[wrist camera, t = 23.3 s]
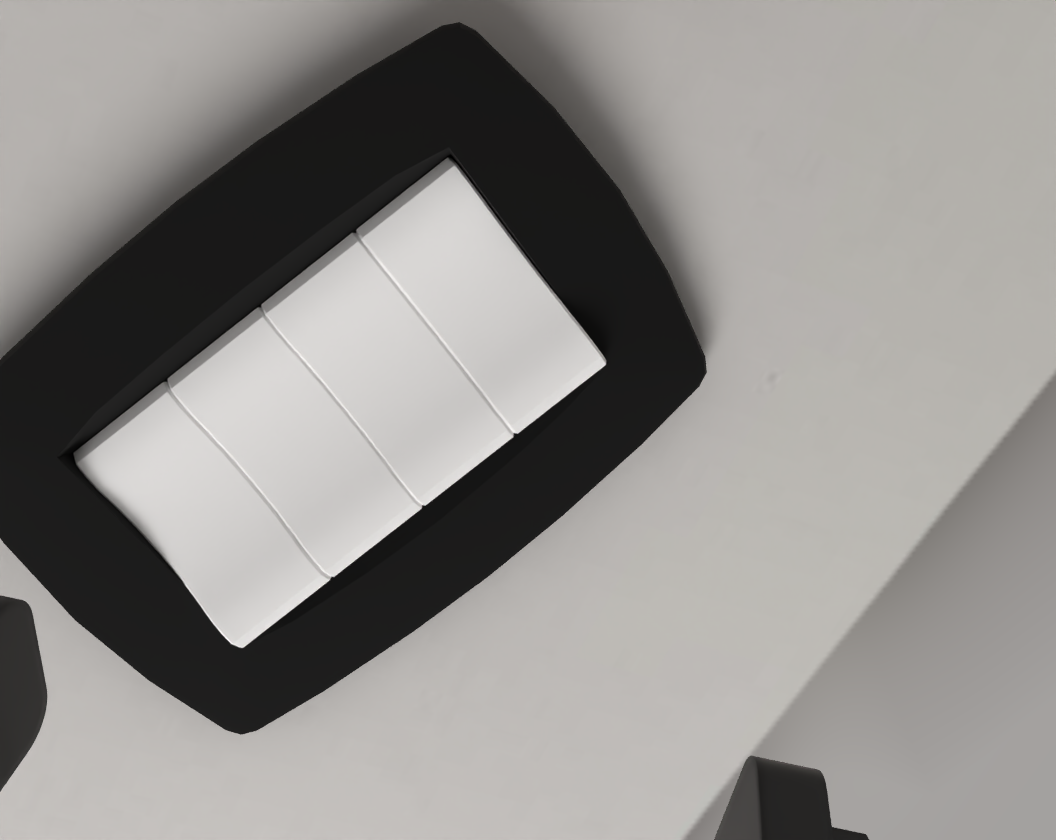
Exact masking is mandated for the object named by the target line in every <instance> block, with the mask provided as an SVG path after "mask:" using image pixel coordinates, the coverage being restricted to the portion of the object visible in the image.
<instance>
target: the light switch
mask: <svg viewBox="0 0 1056 840" xmlns="http://www.w3.org/2000/svg"><path fill="white" fill-rule="evenodd" d="M706 373H707V371H706V360H705V355H704V353H703V351H702V349H701V346H700V344H699V342H698V339H697V337H696V335H695V333H694V330H693V328H692V326H691V323H690V321H689V319H688V317H687V314H686V312H685V310H684V307H683V305H682V303H681V301H680V298H679V296H678V294H677V291H676V289H675V287H674V285H673V282H672V280H671V278H670V275H669V273H668V271H667V269H666V268H665V266H664V264H663V263H662V261H661V259H660V257H659V256H658V254H657V252H656V251H655V249H654V247H653V245H652V244H651V242H650V240H649V239H648V237H647V235H646V234H645V232H644V230H643V228H642V227H641V225H640V223H639V222H638V220H637V218H636V216H635V215H634V213H633V211H632V210H631V208H630V206H629V205H628V203H627V201H626V199H625V198H624V196H623V194H622V193H621V191H620V189H619V188H618V187H617V186H616V184H615V183H614V182H613V181H612V179H611V178H610V177H609V176H608V174H607V173H606V172H605V171H604V169H603V168H602V167H601V166H600V164H599V163H598V162H597V161H596V159H595V158H594V157H593V156H592V154H591V153H590V152H589V151H588V149H587V148H586V147H585V146H584V144H583V143H582V142H581V141H580V139H579V138H578V137H577V136H576V134H575V133H574V132H573V131H572V129H571V128H570V127H569V126H568V124H567V123H566V122H565V121H564V119H563V118H562V117H561V116H560V114H559V113H558V112H557V111H556V109H555V108H554V107H553V106H552V105H551V104H550V103H549V102H548V101H547V100H546V99H545V98H544V97H543V96H542V95H541V94H540V93H539V92H538V91H537V90H536V89H535V88H534V87H533V86H532V85H531V84H530V83H529V82H528V81H527V80H526V79H525V78H524V77H523V76H522V75H521V74H520V73H518V72H517V71H516V70H515V69H514V68H513V67H512V66H511V65H510V64H509V63H508V62H507V61H506V60H505V59H504V58H503V57H502V56H501V55H500V54H499V53H498V52H497V51H496V50H495V49H494V48H493V47H492V46H491V45H490V44H489V43H488V42H487V41H486V40H485V39H484V38H483V37H482V36H481V35H480V34H479V33H478V32H477V31H476V30H474V29H472V28H470V27H468V26H466V25H464V24H462V23H460V22H459V23H454V24H449V25H443V26H441V27H439V28H437V29H435V30H433V31H432V32H430V33H428V34H427V35H425V36H423V37H421V38H420V39H418V40H416V41H414V42H413V43H411V44H409V45H408V46H406V47H404V48H402V49H401V50H399V51H397V52H395V53H394V54H392V55H390V56H389V57H387V58H385V59H383V60H382V61H380V62H378V63H376V64H375V65H373V66H371V67H369V68H368V69H366V70H364V71H363V72H361V73H359V74H357V75H356V76H354V77H353V78H351V79H350V80H348V81H347V82H345V83H344V84H342V85H341V86H339V87H338V88H336V89H335V90H333V91H332V92H330V93H329V94H327V95H326V96H324V97H323V98H321V99H320V100H318V101H317V102H315V103H314V104H312V105H311V106H309V107H308V108H306V109H305V110H303V111H302V112H300V113H299V114H297V115H296V116H294V117H293V118H291V119H290V120H288V121H287V122H285V123H284V124H282V125H281V126H279V127H278V128H276V129H275V130H273V131H272V132H270V133H269V134H267V135H266V136H264V137H263V138H261V139H260V140H258V141H257V142H255V143H254V144H253V145H251V146H250V147H249V148H247V149H246V150H245V151H243V152H242V153H241V154H239V155H238V156H237V157H235V158H234V159H233V160H231V161H230V162H229V163H227V164H226V165H225V166H223V167H222V168H221V169H219V170H218V171H217V172H215V173H214V174H213V175H211V176H210V177H209V178H207V179H206V180H205V181H203V182H202V183H201V184H199V185H198V186H196V187H195V188H194V189H192V190H191V191H190V192H188V193H187V194H186V195H184V196H183V197H182V198H180V199H179V200H178V201H176V202H175V203H174V204H173V205H172V206H170V207H169V208H168V209H167V210H166V211H164V212H163V213H162V214H161V215H160V216H159V217H157V218H156V219H155V220H154V221H153V222H151V223H150V224H149V225H148V226H147V227H145V228H144V229H143V230H142V231H141V232H140V233H138V234H137V235H136V236H135V237H134V238H132V239H131V240H130V241H129V242H128V243H127V244H125V245H124V246H123V247H122V248H121V249H119V250H118V251H117V252H116V253H115V254H114V255H112V256H111V257H110V258H109V259H108V260H106V261H105V262H104V263H103V264H102V265H101V266H99V267H98V268H97V269H96V270H95V271H94V272H92V273H91V274H90V275H89V276H88V277H87V278H86V279H85V280H84V281H83V282H82V283H81V284H80V285H79V286H78V287H76V288H75V289H74V290H73V291H72V292H71V293H70V294H69V295H68V296H67V297H66V298H65V299H64V300H63V301H62V302H61V303H60V304H58V305H57V306H56V307H55V308H54V309H53V310H52V311H51V312H50V313H49V314H48V315H47V316H46V317H45V318H44V319H43V320H42V321H40V322H39V323H38V324H37V325H36V326H35V327H34V328H33V329H32V330H31V331H30V332H29V333H28V334H27V335H26V336H25V337H24V338H23V339H21V340H20V341H19V342H18V343H17V344H16V345H15V346H14V347H13V348H12V349H11V350H10V351H9V352H8V353H7V354H6V355H5V356H3V358H2V359H1V360H0V538H1V540H2V541H3V543H4V544H5V545H6V546H7V547H8V548H9V549H10V550H11V551H12V552H13V553H14V554H15V556H16V557H17V558H18V559H19V560H20V561H21V562H22V563H23V564H24V565H25V566H26V567H27V569H28V570H29V571H30V572H31V573H32V574H33V575H34V576H35V577H36V578H37V579H38V580H39V582H40V583H41V584H42V585H43V586H44V587H45V588H46V589H47V590H48V591H49V592H50V593H51V595H52V596H53V597H54V598H55V599H56V600H57V601H58V602H59V603H60V604H61V605H62V606H63V607H64V609H65V610H66V611H67V612H68V613H69V614H70V615H71V616H72V617H73V618H74V619H75V620H76V621H77V622H78V623H79V624H81V625H82V626H83V627H84V628H85V629H87V630H88V631H89V632H90V633H92V634H93V635H94V636H95V637H96V638H98V639H99V640H100V641H101V642H103V643H104V644H105V645H106V646H107V647H109V648H110V649H111V650H112V651H114V652H115V653H116V654H117V655H118V656H120V657H121V658H122V659H123V660H125V661H126V662H127V663H128V664H129V665H131V666H132V667H133V668H134V669H136V670H137V671H138V672H139V673H141V674H142V675H143V676H144V677H145V678H147V679H148V680H149V681H151V682H152V683H154V684H155V685H157V686H158V687H160V688H161V689H163V690H165V691H166V692H168V693H169V694H171V695H172V696H174V697H175V698H177V699H179V700H180V701H182V702H183V703H185V704H186V705H188V706H189V707H191V708H192V709H194V710H196V711H197V712H199V713H200V714H202V715H203V716H205V717H206V718H208V719H210V720H211V721H213V722H214V723H216V724H217V725H219V726H220V727H222V728H223V729H225V730H227V731H231V732H234V733H238V734H245V733H249V732H253V731H256V730H258V729H260V728H262V727H264V726H265V725H267V724H269V723H270V722H272V721H274V720H275V719H277V718H279V717H280V716H282V715H284V714H286V713H287V712H289V711H291V710H292V709H294V708H296V707H297V706H299V705H301V704H303V703H304V702H306V701H308V700H309V699H311V698H313V697H314V696H316V695H318V694H320V693H321V692H323V691H325V690H326V689H328V688H329V687H331V686H332V685H334V684H335V683H337V682H338V681H340V680H341V679H343V678H344V677H346V676H347V675H349V674H350V673H352V672H353V671H355V670H356V669H358V668H359V667H361V666H362V665H364V664H365V663H367V662H368V661H370V660H371V659H373V658H374V657H376V656H377V655H379V654H380V653H382V652H383V651H385V650H386V649H388V648H389V647H391V646H392V645H394V644H395V643H397V642H398V641H400V640H401V639H403V638H404V637H406V636H407V635H409V634H410V633H412V632H413V631H415V630H416V629H417V628H419V627H420V626H421V625H423V624H424V623H426V622H427V621H428V620H430V619H431V618H432V617H434V616H435V615H436V614H438V613H439V612H441V611H442V610H443V609H445V608H446V607H447V606H449V605H450V604H451V603H453V602H454V601H455V600H457V599H458V598H460V597H461V596H462V595H464V594H465V593H466V592H468V591H469V590H470V589H472V588H473V587H474V586H476V585H477V584H479V583H480V582H481V581H483V580H484V579H485V578H487V577H488V576H489V575H491V574H492V573H493V572H494V571H496V570H497V569H498V568H499V567H500V566H502V565H503V564H504V563H505V562H507V561H508V560H509V559H510V558H511V557H513V556H514V555H515V554H516V553H517V552H519V551H520V550H521V549H522V548H524V547H525V546H526V545H527V544H528V543H530V542H531V541H532V540H533V539H535V538H536V537H537V536H538V535H539V534H541V533H542V532H543V531H544V530H546V529H547V528H548V527H549V526H550V525H552V524H553V523H554V522H555V521H557V520H558V519H559V518H560V517H561V516H563V515H564V514H565V513H566V512H567V511H568V510H569V509H570V508H571V507H573V506H574V505H575V504H576V503H577V502H578V501H579V500H580V499H581V498H583V497H584V496H585V495H586V494H587V493H588V492H589V491H590V490H591V489H593V488H594V487H595V486H596V485H597V484H598V483H599V482H600V481H601V480H603V479H604V478H605V477H606V476H607V475H608V474H609V473H610V472H611V471H612V470H614V469H615V468H616V467H617V466H618V465H619V464H620V463H621V462H622V461H624V460H625V459H626V458H627V457H628V456H629V455H630V454H631V453H632V452H634V451H635V450H636V449H637V448H638V447H639V446H640V445H641V444H642V443H643V442H644V441H645V440H646V439H647V438H648V437H649V436H650V435H651V434H652V433H653V432H654V431H655V430H656V429H657V428H658V427H659V426H660V425H661V424H662V423H663V422H664V421H665V420H666V419H667V418H668V417H669V416H670V415H671V414H672V413H673V412H674V411H675V410H676V409H677V408H678V407H679V406H680V405H681V404H682V403H683V402H684V401H685V400H686V399H687V398H688V397H689V396H690V395H691V394H692V393H693V392H694V391H695V390H696V389H697V388H698V387H699V386H700V384H701V382H702V380H703V378H704V376H705V374H706Z"/></svg>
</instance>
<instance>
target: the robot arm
mask: <svg viewBox="0 0 1056 840" xmlns="http://www.w3.org/2000/svg"><path fill="white" fill-rule="evenodd" d="M46 706H47V688H46V683H45V677H44V672H43V667H42V661H41V656H40V651H39V646H38V640H37V635H36V630H35V625H34V619H33V614H32V610H31V608H30V606H29V604H28V603H27V602H25V601H23V600H19V599H14V598H10V597H5V596H0V791H1V790H2V788H3V787H4V785H5V784H6V783H7V781H8V780H9V778H10V777H11V775H12V774H13V773H14V771H15V770H16V768H17V767H18V765H19V764H20V763H21V761H22V760H23V758H24V757H25V755H26V754H27V753H28V751H29V750H30V748H31V746H32V745H33V743H34V741H35V739H36V737H37V735H38V733H39V731H40V728H41V725H42V723H43V719H44V716H45V711H46ZM714 840H869V839H868V837H867V835H866V834H862V833H857V832H852V831H848V830H843V829H838V828H834V827H832V826H831V818H830V811H829V804H828V795H827V789H826V783H825V779H824V776H823V774H822V773H821V771H819V770H817V769H812V768H807V767H803V766H798V765H793V764H788V763H784V762H779V761H774V760H769V759H765V758H760V757H755V756H750V757H748V759H747V760H746V762H745V764H744V766H743V768H742V771H741V773H740V776H739V779H738V781H737V784H736V786H735V789H734V791H733V794H732V796H731V799H730V801H729V804H728V806H727V809H726V811H725V814H724V816H723V819H722V821H721V824H720V826H719V829H718V831H717V834H716V837H715V839H714Z"/></svg>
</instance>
